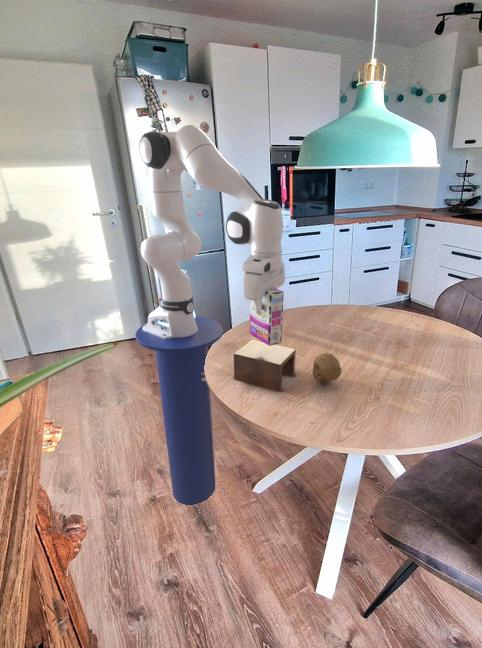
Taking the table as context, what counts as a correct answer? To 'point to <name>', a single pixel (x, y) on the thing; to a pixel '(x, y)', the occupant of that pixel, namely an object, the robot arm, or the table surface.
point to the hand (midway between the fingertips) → (265, 306)
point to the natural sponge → (326, 368)
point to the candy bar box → (268, 318)
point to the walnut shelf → (264, 364)
